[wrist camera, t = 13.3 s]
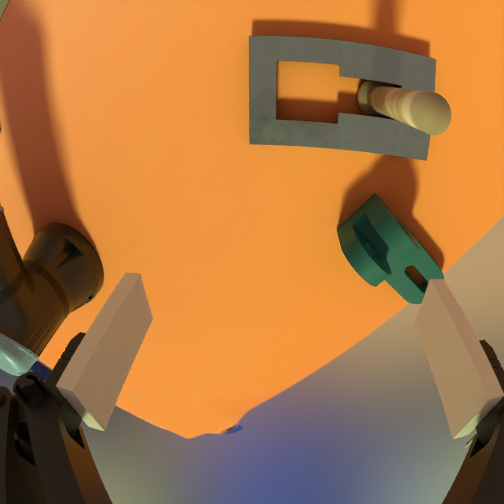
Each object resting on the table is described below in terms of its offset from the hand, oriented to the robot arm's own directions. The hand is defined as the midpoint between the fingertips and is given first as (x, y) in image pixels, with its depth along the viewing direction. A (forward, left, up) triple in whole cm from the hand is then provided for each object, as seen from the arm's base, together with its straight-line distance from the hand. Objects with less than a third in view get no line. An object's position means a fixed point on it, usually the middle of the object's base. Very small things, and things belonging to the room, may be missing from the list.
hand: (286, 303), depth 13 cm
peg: (+9, +8, -25) cm, 28 cm away
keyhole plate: (+5, +8, -25) cm, 27 cm away
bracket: (+15, -12, -25) cm, 32 cm away
